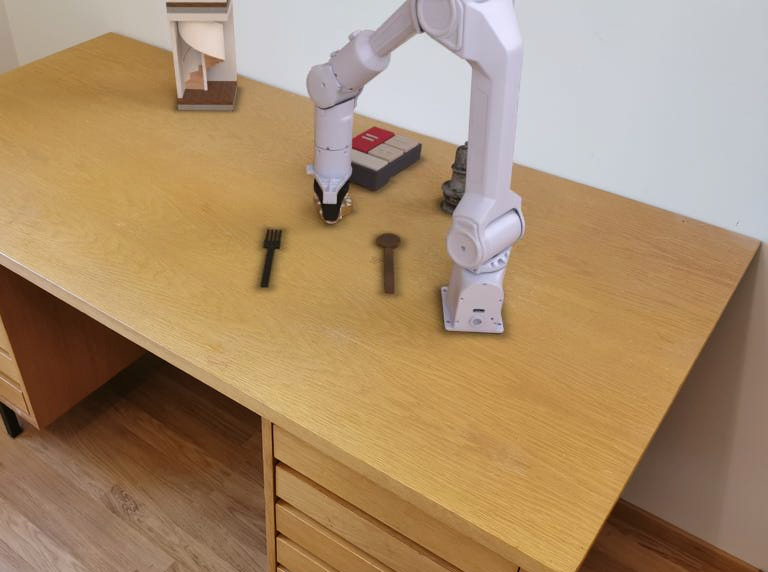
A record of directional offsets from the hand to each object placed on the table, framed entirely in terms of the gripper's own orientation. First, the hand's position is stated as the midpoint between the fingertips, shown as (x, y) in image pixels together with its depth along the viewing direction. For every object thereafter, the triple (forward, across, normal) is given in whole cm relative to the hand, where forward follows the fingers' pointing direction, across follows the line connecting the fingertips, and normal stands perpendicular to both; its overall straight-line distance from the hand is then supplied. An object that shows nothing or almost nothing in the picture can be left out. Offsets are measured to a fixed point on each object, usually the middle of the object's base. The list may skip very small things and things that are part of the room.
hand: (330, 219), depth 121 cm
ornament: (+2, -4, 0) cm, 5 cm away
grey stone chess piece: (+2, -8, +21) cm, 22 cm away
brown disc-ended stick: (+1, +10, +10) cm, 14 cm away
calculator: (+2, -21, +7) cm, 22 cm away
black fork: (+1, +9, -9) cm, 13 cm away
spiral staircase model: (+2, -47, -28) cm, 54 cm away
